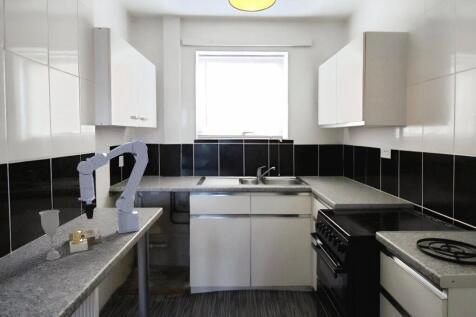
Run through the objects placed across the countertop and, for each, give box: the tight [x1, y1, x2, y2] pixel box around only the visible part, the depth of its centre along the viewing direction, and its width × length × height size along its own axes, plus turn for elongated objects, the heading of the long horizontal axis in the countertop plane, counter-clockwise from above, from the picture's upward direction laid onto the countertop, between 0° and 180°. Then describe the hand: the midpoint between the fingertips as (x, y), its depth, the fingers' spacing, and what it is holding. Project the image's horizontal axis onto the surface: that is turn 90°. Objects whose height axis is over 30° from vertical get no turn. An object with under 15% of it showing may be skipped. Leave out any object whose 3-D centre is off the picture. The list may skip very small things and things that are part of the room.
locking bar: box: [85, 227, 99, 239], centre depth 155 cm, size 5×11×2 cm, turn 26°
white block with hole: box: [69, 239, 89, 253], centre depth 149 cm, size 6×6×3 cm
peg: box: [71, 230, 84, 244], centre depth 149 cm, size 5×5×7 cm
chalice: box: [38, 209, 62, 261], centre depth 139 cm, size 7×7×18 cm
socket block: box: [68, 228, 102, 246], centre depth 160 cm, size 12×13×3 cm
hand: (89, 217), depth 165 cm, fingers open, 7 cm apart
